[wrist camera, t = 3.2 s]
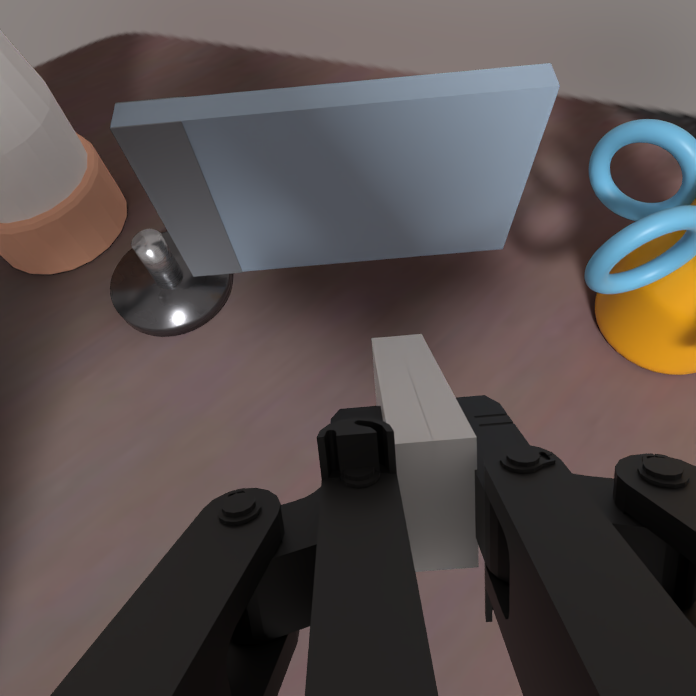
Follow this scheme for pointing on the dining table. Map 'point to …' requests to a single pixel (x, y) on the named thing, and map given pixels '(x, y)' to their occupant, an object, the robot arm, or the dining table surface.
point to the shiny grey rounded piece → (164, 288)
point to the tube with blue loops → (648, 257)
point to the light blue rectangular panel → (340, 167)
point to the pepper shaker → (49, 179)
